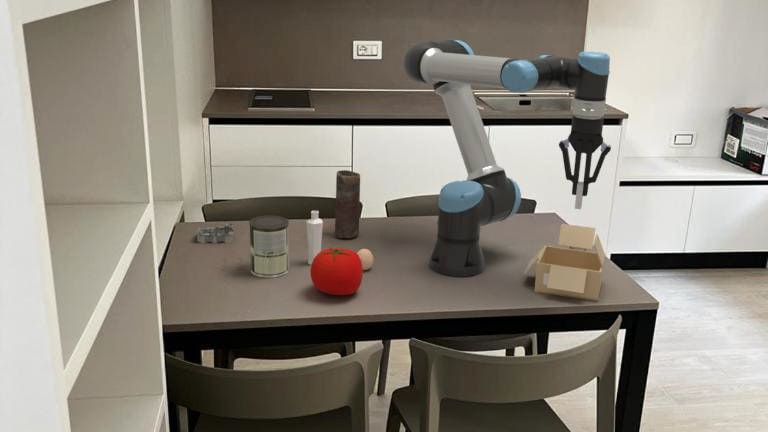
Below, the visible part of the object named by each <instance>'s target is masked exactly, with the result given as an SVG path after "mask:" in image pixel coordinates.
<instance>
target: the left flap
mask: <svg viewBox="0 0 768 432" xmlns="http://www.w3.org/2000/svg"><path fill="white" fill-rule="evenodd" d="M543 249H544V247H542V248H541V249H540V250H539V251H538V252H537V253H536V255H535V256H534V257H533V258H532V259H531V260H530V261H529V262H528V264H527V266H526V269H525V271H524V272H523V275H524V276H525V275H526V274H528V273H529V271H530V270H531V269H532V267H534V265H535V264H537V262H538V260H539V258H540V255H541V253H542V251H543Z"/></svg>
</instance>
